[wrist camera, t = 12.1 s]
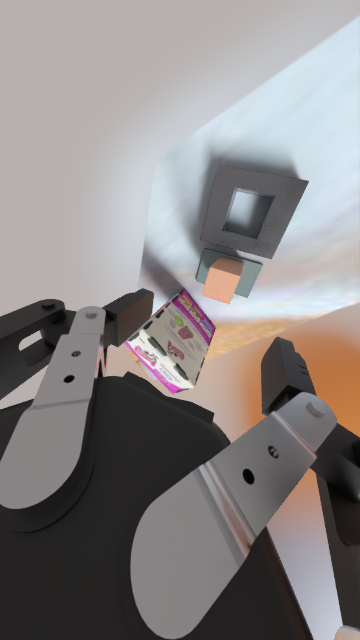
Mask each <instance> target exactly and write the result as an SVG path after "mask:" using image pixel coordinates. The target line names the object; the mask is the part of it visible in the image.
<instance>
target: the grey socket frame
mask: <svg viewBox="0 0 360 640" xmlns="http://www.w3.org/2000/svg"><path fill="white" fill-rule="evenodd" d="M308 182H309V181H306V180H301V179H295V178H289V177H284V176H278V175H273V174H267V173H261V172H256V171H250V170H245V169H239V168H233V167H228V166H222V165H218V168H217V172H216V176H215V180H214V184H213V188H212V192H211V197H210V201H209V205H208V209H207V213H206V217H205V222H204V226H203V230H202V234H201V238H200V240H203V241H207V242H210V243H214V244H218V245H221V246H225V247H229V248H232V249H236V250H239V251H243V252H247V253H250V254H254V255H258V256H261V257H265V258H269V259H272V257H273V255H274V253H275V251H276V249H277V247H278V245H279V243H280V241H281V239H282V237H283V234H284V232H285V230H286V228H287V226H288V224H289V222H290V220H291V218H292V216H293V214H294V212H295V210H296V207H297V205H298V203H299V201H300V199H301V197H302V195H303V193H304V191H305V189H306V187H307V185H308ZM237 191H239V192H244V193H249V194H254V195H259V196H263V197H268V198H273V200H272V203H271V205H270V208H269V210H268V213H267V215H266V217H265V220H264V222H263V225H262V227H261V230H260V232H259V235H258V237H257V238H253V237H249V236H245V235H241V234H237V233H233V232H229V231H225V228H226V224H227V221H228V218H229V214H230V211H231V208H232V205H233V201H234V198H235V195H236V192H237Z"/></svg>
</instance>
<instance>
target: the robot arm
mask: <svg viewBox="0 0 360 640" xmlns="http://www.w3.org/2000/svg"><path fill="white" fill-rule="evenodd" d="M153 299H154V293H153V292H152V291H149V290H146V289H144V288H142V289H140V290H138V291H137V292H135V293H129V294H126V295H124V296H122V297H121V298H118V299H117V300H115V301H113V302H111V303H109V304H108V305H106V306H104V307H102V308H100V307H94V306H92V307H91V306H90V307H85V308H82V309H80V310H78V311H77V312H76V311H70V310H66V309H65V305H64V302H62V301H60V300H56V299H46V300H41V301H38V302H36V303H33V304H31V305H28V306H26V307H23V308H21V309H18V310H16V311H13V312H11V313H8V314H6V315H3V316H1V317H0V400H1V399H2V398H4V397H5V396H6V395H7V394H9V393H10V392H12V391H13V390H14V389H16V388H17V387H18V386H19V385H21V384H22V383H24V382H25V381H26V380H28V379H29V378H30V377H32V376H33V375H35V374H36V373H37V372H38V371H40V370H41V369H43V368H44V367H45V366H47V365H48V364H49V365H48V368H47V371H46V373H45V375H44V377H43V380H42V382H41V385H40V387H39V389H38V392H37V394H36V397H35V399H31V400H28V401H25V402H22V403H19V404H16V405H13V406H10V407H7V408H4V409H0V640H314V639H313V637H312V634H311V632H310V629H309V627H308V624H307V622H306V620H305V617H304V615H303V612H302V610H301V608H300V605H299V603H298V600H297V598H296V596H295V593H294V591H293V589H292V586H291V584H290V581H289V579H288V577H287V574H286V572H285V569H284V567H283V565H282V562H281V560H280V557H279V555H278V553H277V550H276V548H275V545H274V543H273V541H272V538H271V536H270V533H269V531H268V529H267V526H266V524H267V523H268V522H269V520H270V519H271V518H272V516H273V515H274V514H275V512H276V511H277V510H278V509H279V507H280V506H281V505H282V503H283V502H284V501H285V499H286V498H287V497H288V495H289V494H290V493H291V491H292V490H293V489H294V487H295V486H296V485H297V484H298V482H299V481H300V480H301V478H302V477H303V476H304V474H305V473H306V471H307V470H308V469H309V468H311V469H312V470H313V471H314V472H315V473H316V477H317V483H318V488H319V493H320V499H321V505H322V511H323V516H324V521H325V527H326V533H327V539H328V544H329V550H330V555H331V561H332V566H333V572H334V578H335V583H336V589H337V594H338V600H339V605H340V611H341V617H342V622H343V626H342V627H340V628H339V629H338V631H337V633H336V635H335V639H334V640H360V438H359V437H358V436H356V435H355V434H353V433H352V432H350V431H349V430H347V429H346V428H344V427H343V426H341V425H340V424H338V423H337V418H336V416H335V414H334V412H333V411H332V409H331V408H330V407H329V406H328V405H327V404H326V403H325V402H324V401H323V400H321V399H320V398H318V397H317V396H316V393H315V389H314V386H313V383H312V381H311V378H310V376H309V372H308V370H307V366H306V363H305V361H304V360H303V358H302V357H301V356H300V354H298V353H296V352H295V350H294V346H293V343H292V342H291V341H288V340H286V339H283V338H280V337H276V338H275V339H274V341H273V343H272V344H271V346H270V347H269V349H268V350H267V352H266V353H265V355H264V357H263V359H262V362H261V384H262V386H261V387H262V414H264V415H266V416H267V417H265V418H264V419H263V420H261V421H260V422H259V423H258V424H256V425H255V426H254V427H252V428H251V429H250V430H248V431H247V432H246V433H245V434H243V435H242V436H241V437H239V438H238V439H237V440H235V441H234V442H233V443H231V442H230V441H229V439H228V438H227V436H226V435H225V434H224V432H223V431H222V430H221V429H220V428H219V427H218V426H217V425H216V424H215V423H214V422H213V417H214V413H213V412H211V411H209V410H207V409H205V408H203V407H201V406H199V405H197V404H195V403H193V402H189V401H185V400H180V399H176V398H171V397H167V396H165V395H164V394H162V393H161V392H160V391H159V390H158V389H157V388H155V387H154V386H153V385H152V384H151V383H150V382H148V381H147V380H145V379H143V378H141V377H139V376H137V375H135V374H133V373H130V372H129V371H128V372H127V373H126V374H125V375H124V376H123V377H118V376H108V377H106V370H107V358H108V346H109V345H111V344H112V345H114V346H117V347H119V346H120V345H121V344H122V343H123V342H125V341H126V340H127V339H128V338H129V337H130V336H131V335H132V334H133V333H134V332H136V331H137V330H138V329H139V328H140V327H141V326H142V325H143V324H144V323H146V322H147V321H148V320H149V318H150V317H151V314H152V308H153ZM39 330H40V333H41V336H42V339H40V340H38V341H37V342H35V343H33V344H32V345H30V346H28V347H27V348H25V349H23V350H21V351H20V350H19V344H20V342H21V341H22V339H24V338H26V337H28V336H30V335H31V334H33V333H35V332H37V331H39Z"/></svg>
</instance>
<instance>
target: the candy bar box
mask: <svg viewBox="0 0 360 640" xmlns="http://www.w3.org/2000/svg"><path fill="white" fill-rule="evenodd" d="M215 329H216V328H215V327H214V325H213V324H212V323H211V322H210V320H209V319H208V318H207V317H206V315H205V314H204V313H203V312H202V310H201V309H200V308H199V307H198V305H197V304H196V303H195V302H194V300H193V299H192V298H191V297H190V295H189V294H188V293H187V292H186V290H185V289H183V290H181V291H180V292H179V293H177V294H176V295H175V296H173V297H172V298H171V299H170V300H168V301H167V302H166V303H165V304H164V305H163V306H162V307H161V308H160V309H159V310H158V311H157V312H156V313H155V314H154V315H153V316H152V317H151V318H150V319H149V320H148V321H147V322H146V323H144V324H143V325H142V326H141V327H140V328H139V329H138V330H137V331H136V332H135V333H134V334H133V335H132V336H131V337H129V338H128V339H127V340H126V341H125V344H126V345H127V346H128V347H129V348H130V349H131V351H132V352H133V353H134V354H135V355H136V356H137V357H138V358H139V359H140V360H141V361H142V362H143V363H144V364H145V365H146V366H147V368H148V369H149V370H150V371H151V372H152V373H153V374H154V375H155V376H156V377H157V378H158V379H159V380H160V381H161V382H162V383H163V385H164V386H165V387H166V388H167V389H168V390H169V391H170V392H171V393H172V394H175V393H178V392H181V391H183V390H188V389H191V388H194V387H195V385H196V382H197V379H198V376H199V373H200V371H201V368H202V365H203V362H204V359H205V357H206V354H207V351H208V348H209V345H210V343H211V340H212V337H213V335H214V332H215Z"/></svg>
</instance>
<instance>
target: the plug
mask: <svg viewBox="0 0 360 640" xmlns="http://www.w3.org/2000/svg"><path fill="white" fill-rule="evenodd" d="M243 265H244V263H243V262H240V261H236V260H233V259H229V258H226V257H222V256H221V257H220V258H219V259H218V260H217V261H216V262H215V263H214V264H213V265H212V266H211V267H210V269H209V272H208V276H207V279H206V282H205V286H204V289H203V293H202V295H203V296H206V297H209V298H212V299H215V300H218V301H221V302H224V303H227V304H230V301H231V299H232V296H233V294H234V292H235V289H236V287H237V284H238V282H239V279H240V277H241V273H242V269H243Z"/></svg>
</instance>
